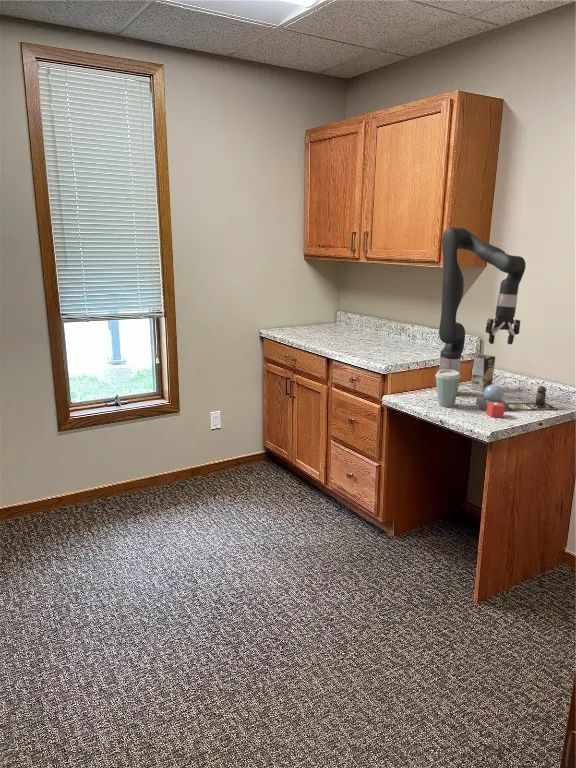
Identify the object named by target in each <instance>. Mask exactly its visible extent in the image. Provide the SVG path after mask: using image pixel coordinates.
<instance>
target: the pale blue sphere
mask: <svg viewBox="0 0 576 768" xmlns="http://www.w3.org/2000/svg"><path fill="white" fill-rule="evenodd" d="M503 392H504V391H503V389H502V388H501V387H500V386H499V385H497V384H492V385H489V386H487V387H486V388H485V390H484V391H483V395H484V397H483V398H486V401H487V402H499V400H500V399H502V398H503V395H504V394H503Z"/></svg>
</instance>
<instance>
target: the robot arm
mask: <svg viewBox="0 0 576 768" xmlns="http://www.w3.org/2000/svg"><path fill="white" fill-rule="evenodd" d="M441 247H442V285H441V287H442V288H441V289H442V290H441V291H442V292H441V295H442V296H441V314H440V319H439V320H440V322H439V326H438V327H439V329H438V335H439V339H440V341H441V342H442V343H443V344H445V345H444V347H443V348H442V349H441V351H440V356H439V366H438V371H439V370H455V371H458V372H459V373H460V371H461V359H462V354H463V352H464V348H465V341H466V329H465V327H464V325H463V324H461V322H457V312H458V310H459V307H460V304H461V302H462V299H463V295H464V287H465V286H464V285H465V284H464V283H465V279H464V276H463V273H462V270H461V268H460V265H459V263H458V250H462V249H463V250H466V251H469V252H472V253H474V254H475V255H476V256H477V257H478V258H479V259H481V261H483V262H486V263H488V264H490V265H492V266H494V267H495V268H497V269H498V270H499V271H500V272H502V273H506V274H507V277H506V278H505V279H503V280H502V281H501V282H500V284H499V285H500V286H499V293H498V297H497V302H496V307H495V309H496V310H495V314H494V315H495V318H494V319H493V318H491V317H490V318H488V319H487V322H486V327H485V333H487V334H489V336H488V343H489V344H491V345H494V344H495V339H496V338H495V336H496V335H495V334H496V333H497V332H499V331H500V330H501V331H503V330H505V331H507V332H508V337H507V344H508V345H512V344H513V343H514V338H515V336H516V335H519V334H520V329H521V328H520V327H521V320H519V319H517V318H516V319H514V318H515V316H516V309H517V303H518V292H519V286H520V283H521V281H522V279H523V276H524V274H525V272H526V271H525V270H526V261H525V258H524V257H522V256H520V255H511V254H508V253H506V252H505V251H504V250H503V249H502V248H499V247H497V246H494V245H492V244H491V243H488V242H486V241H484V240H482V239H480V238H478V237H477V236H475V235H474V234H473V233H472V232H470V231H469V230H467V229H465V228H463V227H447V228H446V229H445V230H444V232H443V234H442V237H441ZM435 385H436V386H435V388H436V389H435V392H436V393H437V383H436V384H435ZM458 392H459V390H458V391H457V395H458Z"/></svg>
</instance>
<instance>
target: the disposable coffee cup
mask: <svg viewBox="0 0 576 768" xmlns="http://www.w3.org/2000/svg"><path fill="white" fill-rule="evenodd" d="M461 376H462V375H461V373H460V372H458V371H455V370H439V369H438V370H437V371H436V374H435V382H436V384H437V392H436V393H437V401H438V405H439V406H440V407H443V408H451V407H452V408H453V407H454V406H455V404H456V400H457V399H456V398H457V395H458V394H457V391H458V392H459V386H460V380H461V378H462V377H461Z"/></svg>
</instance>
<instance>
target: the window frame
mask: <svg viewBox="0 0 576 768" xmlns="http://www.w3.org/2000/svg"><path fill="white" fill-rule="evenodd" d="M507 403H508V404H509V408H508V411H511V412H512V410H525V411H558V410H559V409H558V407H555V406H554V405H551V404H549V403H548V402H546V401H545V405H546V408H535V407H532V406H530V405H534V404H535V403H536V402H507ZM523 404H524V405H523ZM525 405H526V406H525ZM527 406H528V407H530V408H531V409H528V407H527ZM547 407H548V408H547Z"/></svg>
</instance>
